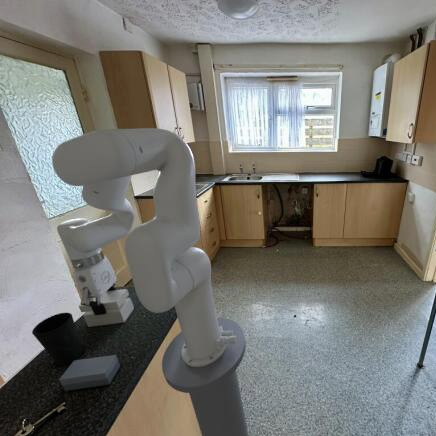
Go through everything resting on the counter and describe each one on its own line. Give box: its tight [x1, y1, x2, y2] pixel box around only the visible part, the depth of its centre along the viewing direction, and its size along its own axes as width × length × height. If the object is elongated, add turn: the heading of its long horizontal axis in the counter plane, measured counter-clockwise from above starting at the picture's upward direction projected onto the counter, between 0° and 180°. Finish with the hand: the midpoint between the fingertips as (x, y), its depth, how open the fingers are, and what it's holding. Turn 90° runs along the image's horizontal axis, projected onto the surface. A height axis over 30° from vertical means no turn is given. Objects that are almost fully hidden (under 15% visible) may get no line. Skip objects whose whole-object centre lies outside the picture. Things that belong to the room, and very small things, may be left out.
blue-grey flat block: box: [58, 354, 119, 386], centre depth 59 cm, size 10×5×2 cm, turn 98°
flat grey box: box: [78, 288, 130, 313], centre depth 77 cm, size 11×6×2 cm, turn 97°
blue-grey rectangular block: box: [61, 360, 121, 392], centre depth 60 cm, size 10×5×2 cm, turn 98°
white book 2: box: [85, 303, 135, 328], centre depth 79 cm, size 11×6×2 cm, turn 97°
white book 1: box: [82, 297, 133, 322], centre depth 78 cm, size 11×6×2 cm, turn 97°
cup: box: [31, 312, 84, 366], centre depth 64 cm, size 8×8×12 cm
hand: (107, 305), depth 78 cm, fingers closed on flat grey box, 6 cm apart
